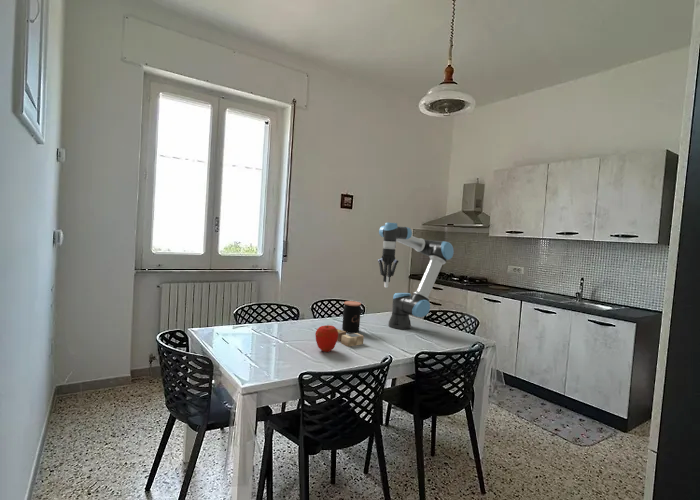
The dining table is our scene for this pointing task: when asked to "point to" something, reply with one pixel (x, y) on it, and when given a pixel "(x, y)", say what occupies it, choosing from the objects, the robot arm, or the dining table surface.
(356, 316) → the coffee jar
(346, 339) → the beech block
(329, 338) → the apple
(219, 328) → the dining table surface
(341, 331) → the walnut block
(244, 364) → the dining table surface
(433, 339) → the dining table surface
